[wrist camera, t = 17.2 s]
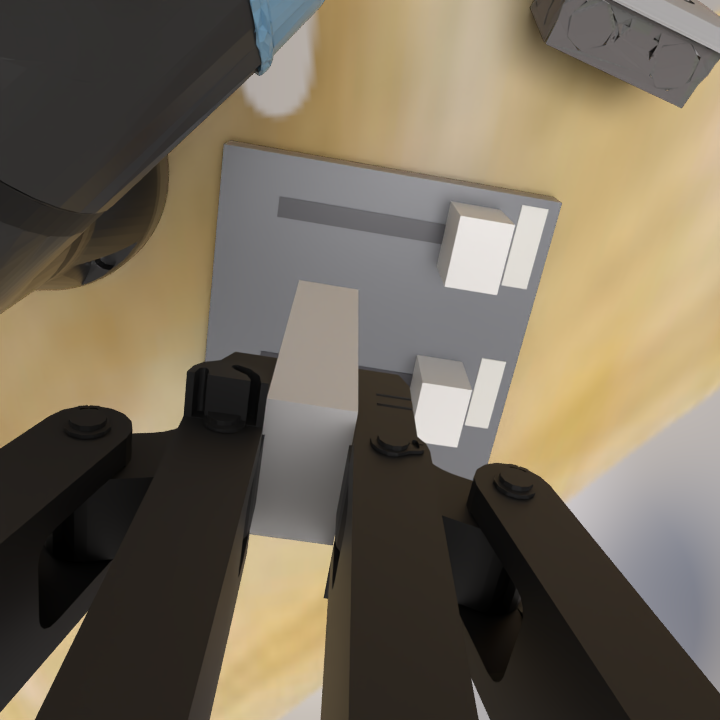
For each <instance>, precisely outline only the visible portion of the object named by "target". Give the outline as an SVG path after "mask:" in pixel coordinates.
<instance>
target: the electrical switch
mask: <svg viewBox="0 0 720 720" xmlns="http://www.w3.org/2000/svg"><path fill="white" fill-rule="evenodd" d="M530 9H531V11H532V14H533V16H534V19H535V21H536V24H537V26H538V28H539V31H540V33H541V36H542V38H543V41H544V42H545V41H546V39H547V37H548V35H549V34H550V35H549V37H548V39H547V41H546V44H547V45H549V46H551V47H553V48H555V49H557V50H559V51H562V52H564V53H566V54H568V55H570V56H572V57H574V58H576V59H578V60H581V61H583V62H585V63H587V64H589V65H591V66H593V67H595V68H598V69H600V70H602V71H604V72H606V73H608V74H610V75H612V76H614V77H617V78H619V79H621V80H623V81H625V82H627V83H629V84H631V85H633V86H636V87H638V88H640V89H642V90H644V91H646V92H648V93H650V94H652V95H655V96H657V97H659V98H661V99H663V100H665V101H667V102H669V103H671V104H674V105H676V106H678V107H680V108H682V107H683V106H684V104H685V103H686V102H687V100H688V99H689V97H690V96H691V94H692V93H693V91H694V90H695V88H696V87H697V86H698V84H699V83H700V82H701V81H702V80H703V79H704V78H706V77H707V76H708V74H709V73H710V71H711V70H712V68H713V67H714V65H715V64H716V63H717V62H718V61H719V59H720V16H718V15H717V14H716V13H714V12H713V11H712V10H710V9H709V8H708V7H707V6H705V5H704V4H702V3H701V2H699V1H698V0H534V1H533V3H532V5H531V7H530ZM556 21H557V22H556ZM555 23H556V24H555ZM554 25H555V26H554ZM553 27H554V28H553ZM552 28H553V30H552ZM551 30H552V31H551ZM550 32H551V33H550ZM617 36H618V37H619V38H618V37H617ZM605 42H606V44H605V45H603V44H604V43H605ZM576 47H577V48H578V49H580V50H579V51H578V49H577V48H576ZM649 59H650V60H649ZM650 75H651V77H652V78H651V77H650ZM666 90H668V91H666Z"/></svg>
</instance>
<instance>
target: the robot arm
mask: <svg viewBox="0 0 720 720" xmlns="http://www.w3.org/2000/svg"><path fill="white" fill-rule="evenodd" d="M324 1H325V0H0V314H1V313H3V312H4V311H5V310H7V309H8V308H10V307H11V306H13V305H14V304H16V303H17V302H18V301H20V300H21V299H23V298H24V297H26V296H27V295H29V294H30V293H31V292H33V291H34V290H64V289H70V288H76V287H80V286H83V285H86V284H89V283H92V282H95V281H97V280H99V279H102V278H104V277H106V276H107V275H109V274H111V273H112V272H114V271H116V270H117V269H118V268H120V267H121V266H122V265H123V264H125V263H126V262H127V261H128V260H129V259H131V258H132V257H133V256H134V255H135V254H136V253H137V252H138V251H139V250H140V249H141V248H142V247H143V246H144V245H145V243H146V242H147V241H148V239H149V238H150V236H151V235H152V233H153V232H154V230H155V228H156V226H157V224H158V222H159V220H160V217H161V215H162V212H163V209H164V205H165V201H166V196H167V190H168V159H167V154H168V153H169V152H171V151H172V150H173V149H174V148H175V147H176V146H177V145H178V144H179V143H180V142H181V141H182V140H183V139H184V138H185V137H186V136H188V135H189V134H190V133H191V132H192V131H193V130H194V129H195V128H196V127H197V126H198V125H199V124H200V123H201V122H202V121H204V120H205V119H206V118H207V117H208V116H209V115H210V114H211V113H212V112H213V111H214V110H215V109H216V108H217V107H218V106H220V105H221V104H222V103H223V102H224V101H225V100H226V99H227V98H228V97H229V96H230V95H231V94H232V93H233V92H234V91H235V90H237V89H238V88H239V87H240V86H241V85H242V84H243V83H244V82H245V81H246V80H247V79H248V78H249V77H250V76H251V75H253V73H256V74H257V75H259V76H260V75H262V74H264V73H265V72H266V71H267V70H268V68H269V67H270V66H271V63H272V60H273V56H274V54H275V53H276V52H277V51H278V50H279V49H280V48H281V47H282V46H283V45H284V44H285V43H286V42H287V41H288V40H289V39H290V38H291V37H292V36H293V34H295V32H296V31H297V30H298V29H299V28H300V27H301V26H302V25H303V24H304V23H305V22H306V21H307V20H308V19H309V18H310V17H311V16H312V15H313V14H314V13H315V12H316V11H317V10H318V9H319V8H320V6H321V5H322V4H323V2H324ZM249 532H250V533H249ZM249 534H253V535H260V536H268V537H275V538H283V539H290V540H297V541H305V542H312V543H319V544H327V545H333V542H334V547H333V552H332V557H331V562H330V568H329V573H328V578H327V583H326V588H325V594H324V598H327V599H328V608H327V625H326V641H325V658H324V674H323V690H322V707H321V720H479V719H478V715H477V708H476V703H475V698H474V692H473V687H472V681H471V678H472V680H473V683H474V685H475V687H476V689H477V692H478V694H479V696H480V698H481V700H482V703H483V705H484V707H485V709H486V711H487V714H488V716H489V718H490V720H720V693H719V692H718V691H717V690H716V688H715V687H714V686H713V685H712V683H711V682H710V681H709V680H708V679H707V677H706V676H705V675H704V674H703V672H702V671H701V670H700V669H699V668H698V666H697V665H696V664H695V663H694V661H693V660H692V659H691V658H690V656H689V655H688V654H687V653H686V652H685V650H684V649H683V648H682V647H681V646H680V644H679V643H678V642H677V641H676V639H675V638H674V637H673V636H672V634H671V633H670V632H669V631H668V630H667V628H666V627H665V626H664V625H663V623H662V622H661V621H660V620H659V619H658V617H657V616H656V615H655V614H654V612H653V611H652V610H651V609H650V607H649V606H648V605H647V604H646V603H645V601H644V600H643V599H642V598H641V596H640V595H639V594H638V593H637V592H636V590H635V589H634V588H633V587H632V585H631V584H630V583H629V582H628V581H627V579H626V578H625V577H624V576H623V574H622V573H621V572H620V571H619V570H618V568H617V567H616V566H615V565H614V563H613V562H612V561H611V560H610V558H609V557H608V556H607V555H606V554H605V552H604V551H603V550H602V549H601V547H600V546H599V545H598V544H597V543H596V541H595V540H594V539H593V538H592V537H591V535H590V534H589V533H588V532H587V530H586V529H585V528H584V527H583V525H582V524H581V523H580V522H579V521H578V519H577V518H576V517H575V516H574V514H573V513H572V512H571V511H570V509H569V508H568V507H567V506H566V505H565V503H564V502H563V501H562V500H561V498H560V497H559V496H558V495H557V494H556V492H555V491H554V490H553V489H552V487H551V486H550V485H549V484H548V483H547V482H545V481H544V480H543V479H542V478H541V477H539V476H538V475H536V474H534V473H532V472H530V471H529V470H528V469H526V468H523V467H518V466H517V465H513V464H502V463H493V464H485V465H483V466H482V467H480V468H478V469H477V470H476V473H475V475H474V478H473V481H472V480H469V479H466V478H463V477H460V476H457V475H454V474H452V473H449V472H447V471H444V470H442V469H441V468H439V467H437V466H435V465H434V464H433V463H432V458H431V452H430V450H429V448H428V446H427V444H426V443H425V442H423V441H422V440H421V439H420V438H419V437H417V430H416V424H415V418H414V411H413V405H412V401H411V392H410V387H409V386H408V385H407V383H406V382H405V381H404V380H403V379H402V378H401V377H400V376H399V375H396V374H389V373H383V372H376V371H370V370H363V369H358V290H357V289H351V288H345V287H339V286H333V285H326V284H320V283H314V282H308V281H302V280H299V283H298V287H297V290H296V294H295V298H294V301H293V305H292V308H291V312H290V316H289V319H288V323H287V327H286V330H285V334H284V338H283V341H282V345H281V349H280V352H279V356H278V358H274V357H267V356H261V355H255V354H248V353H242V352H234V353H232V354H230V355H229V356H227V357H225V358H223V359H222V360H216V361H207V362H203V363H200V364H197V365H194V366H193V367H192V368H190V369H189V370H188V371H187V379H186V392H185V406H184V417H183V419H182V421H181V423H180V425H179V427H178V428H177V429H174V430H169V431H165V432H156V433H134V434H132V422H131V420H130V419H129V418H128V417H127V416H126V415H125V414H123V413H121V412H118V411H116V410H114V409H110V408H104V407H100V406H92V405H90V406H88V405H86V406H78V407H74V408H69V409H64V410H61V411H59V412H57V413H55V414H53V415H50V416H49V417H47V418H46V419H44V420H43V421H41V422H40V423H38V424H37V425H35V426H34V427H32V428H31V429H29V430H28V431H26V432H25V433H23V434H22V435H20V436H19V437H17V438H16V439H14V440H13V441H11V442H10V443H8V444H7V445H5V446H4V447H2V448H0V712H1V711H2V710H3V709H4V708H5V706H6V705H7V704H8V703H9V702H10V701H11V699H12V698H13V697H14V696H15V695H16V694H17V692H18V691H19V690H20V689H21V688H22V687H23V686H24V684H25V683H26V682H27V681H28V680H29V679H30V677H31V676H32V675H33V674H34V673H35V672H36V670H37V669H38V668H39V667H40V666H41V665H42V664H43V662H44V661H45V660H46V659H47V658H48V657H49V655H50V654H51V653H52V652H53V651H54V650H55V648H56V647H57V646H58V645H59V644H60V643H61V642H62V640H63V639H64V638H65V637H66V636H67V635H68V633H69V632H70V631H71V630H72V629H73V628H74V626H75V625H76V624H77V623H78V622H79V621H80V620H81V618H82V617H83V616H84V615H85V614H86V613H87V614H86V617H85V619H84V621H83V623H82V625H81V627H80V629H79V631H78V633H77V635H76V637H75V639H74V641H73V643H72V645H71V647H70V649H69V651H68V653H67V655H66V657H65V659H64V661H63V663H62V665H61V668H60V670H59V672H58V674H57V676H56V678H55V680H54V682H53V684H52V686H51V688H50V690H49V692H48V694H47V696H46V698H45V700H44V702H43V704H42V706H41V708H40V710H39V712H38V714H37V716H36V719H35V720H210V715H211V711H212V706H213V702H214V697H215V693H216V688H217V684H218V679H219V675H220V671H221V666H222V662H223V657H224V653H225V648H226V644H227V639H228V635H229V630H230V626H231V621H232V617H233V613H234V608H235V604H236V599H237V595H238V590H239V586H240V581H241V577H242V572H243V568H244V563H245V559H246V555H247V548H248V540H249ZM334 536H335V541H334ZM87 611H88V612H87Z"/></svg>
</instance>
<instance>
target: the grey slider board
mask: <svg viewBox="0 0 720 720" xmlns="http://www.w3.org/2000/svg"><path fill="white" fill-rule="evenodd" d="M561 205H562V203H561V202H560V201H559V200H557V199H556V198H554V197H551V196H546V195H540V194H534V193H528V192H523V191H517V190H511V189H506V188H500V187H494V186H488V185H483V184H477V183H471V182H466V181H460V180H454V179H448V178H443V177H437V176H431V175H425V174H420V173H414V172H408V171H403V170H397V169H391V168H385V167H380V166H374V165H368V164H363V163H357V162H351V161H345V160H340V159H334V158H328V157H323V156H317V155H311V154H305V153H300V152H294V151H288V150H282V149H277V148H271V147H265V146H260V145H254V144H248V143H242V142H237V141H231V140H230V141H228V142H226V143H225V144H224V149H223V160H222V172H221V184H220V195H219V207H218V218H217V230H216V242H215V253H214V265H213V276H212V288H211V300H210V311H209V323H208V334H207V346H206V357H205V362H207V361H216V360H222V359H223V358H225V357H227V356H229V355H230V354H232V353H234V352H242V353H248V354H255V355H261V356H267V357H274V358H278V356H279V352H280V349H281V345H282V341H283V338H284V334H285V330H286V327H287V323H288V319H289V316H290V312H291V308H292V305H293V301H294V298H295V294H296V290H297V287H298V283H299V280H302V281H308V282H314V283H320V284H326V285H333V286H339V287H345V288H351V289H357V290H358V369H363V370H370V371H376V372H383V373H389V374H396V375H399V376H400V377H401V378H402V379H403V380H404V381H405V382H406V383H407V385H408V386H409V387H410V392H411V401H412V405H413V411H414V418H415V424H416V430H417V437H419V438H420V439H421V440H422V441H423V442H425V443H426V444H427V446H428V448H429V450H430V452H431V458H432V463H433V464H434V465H435V466H437V467H439V468H441V469H442V470H444V471H447V472H449V473H452V474H454V475H457V476H460V477H463V478H466V479H469V480H472V481H473V478H474V475H475V473H476V470H477V469H478V468H480V467H482V466H483V465H485V464H488V461H489V457H490V454H491V450H492V447H493V443H494V440H495V436H496V433H497V429H498V426H499V422H500V419H501V415H502V412H503V408H504V405H505V401H506V398H507V394H508V391H509V387H510V384H511V380H512V377H513V373H514V370H515V366H516V363H517V359H518V356H519V352H520V349H521V345H522V342H523V338H524V335H525V331H526V328H527V324H528V321H529V317H530V314H531V310H532V307H533V303H534V300H535V296H536V293H537V289H538V286H539V282H540V278H541V275H542V271H543V268H544V264H545V261H546V257H547V254H548V250H549V247H550V243H551V240H552V236H553V233H554V229H555V226H556V222H557V219H558V215H559V212H560V208H561Z"/></svg>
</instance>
